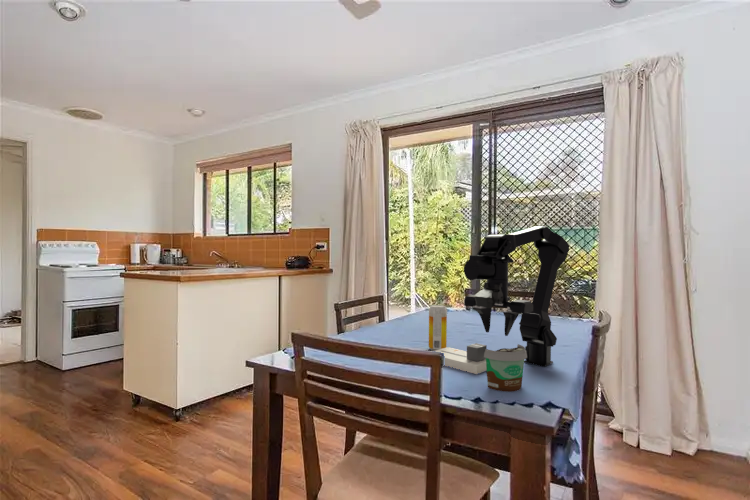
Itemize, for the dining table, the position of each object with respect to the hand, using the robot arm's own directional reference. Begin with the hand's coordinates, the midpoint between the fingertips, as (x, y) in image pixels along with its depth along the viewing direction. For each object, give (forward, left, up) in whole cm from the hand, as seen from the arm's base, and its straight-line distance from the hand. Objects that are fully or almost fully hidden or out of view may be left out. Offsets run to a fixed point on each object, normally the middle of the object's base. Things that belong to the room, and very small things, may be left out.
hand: (496, 333), depth 115 cm
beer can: (+27, -8, -11) cm, 30 cm away
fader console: (+12, 0, -11) cm, 16 cm away
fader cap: (+7, 0, -8) cm, 11 cm away
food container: (-9, +9, -11) cm, 17 cm away
